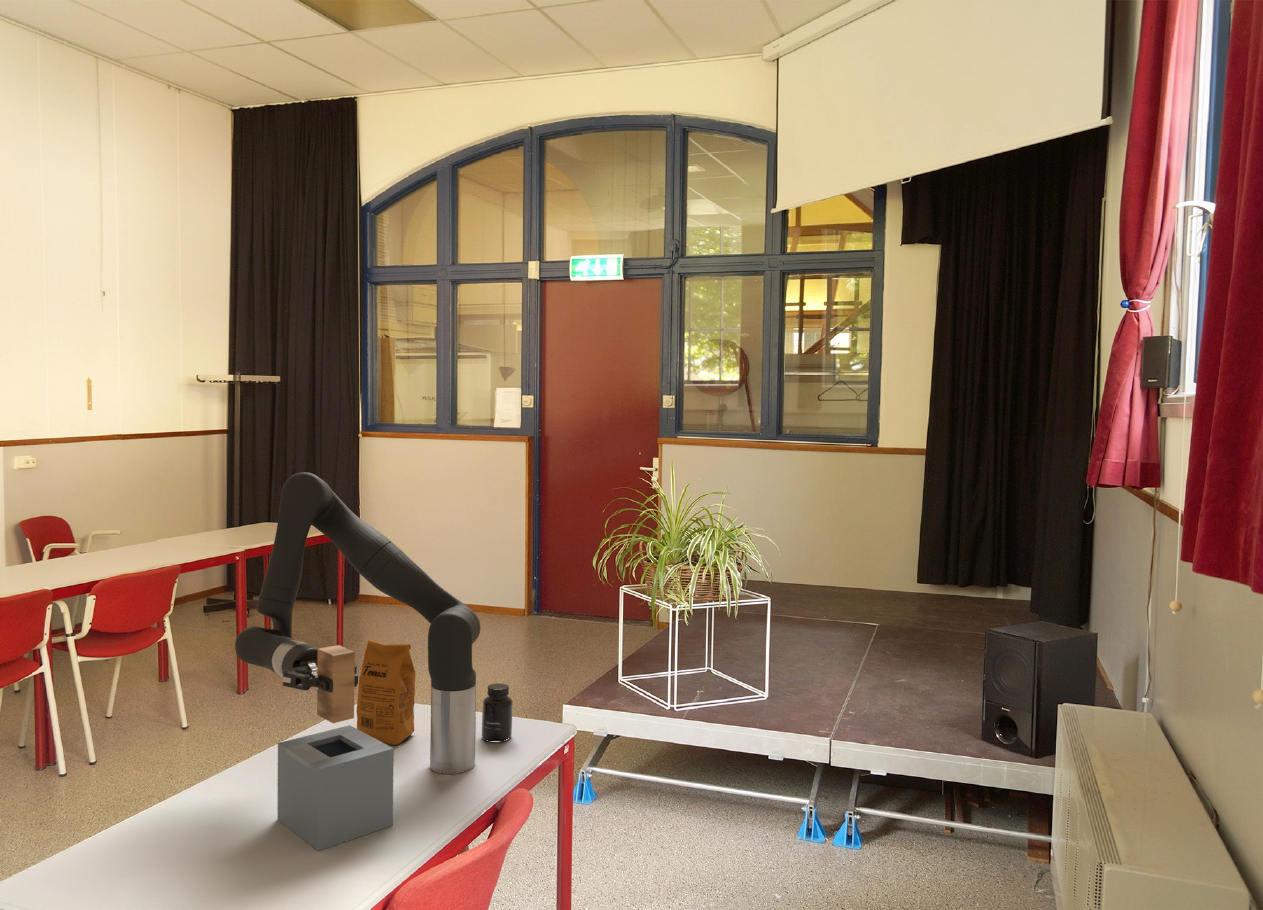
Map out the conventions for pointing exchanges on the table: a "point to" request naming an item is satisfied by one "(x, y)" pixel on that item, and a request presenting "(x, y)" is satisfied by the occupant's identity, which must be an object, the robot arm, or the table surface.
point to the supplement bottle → (497, 713)
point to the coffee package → (386, 693)
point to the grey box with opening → (335, 786)
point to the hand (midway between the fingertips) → (343, 683)
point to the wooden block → (336, 683)
